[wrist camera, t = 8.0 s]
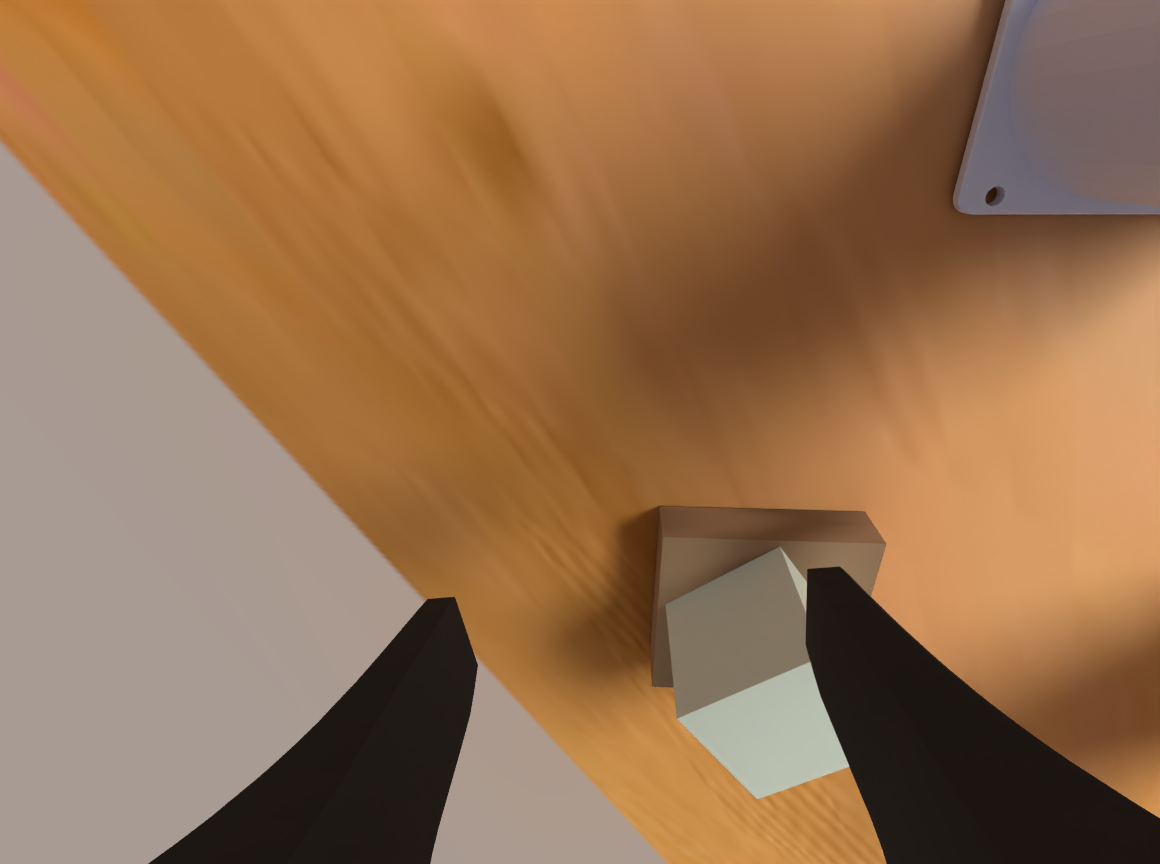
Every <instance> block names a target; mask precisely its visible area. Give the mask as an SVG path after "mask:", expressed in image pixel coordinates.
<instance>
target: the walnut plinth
mask: <svg viewBox="0 0 1160 864" xmlns="http://www.w3.org/2000/svg"><path fill="white" fill-rule="evenodd" d="M778 547H781V549H782V550H783V551H784V553H785V554H786V555H787V556H788V558H789V559H790V560H791V562H792V563H793V564H794V566H795V567H796V568H797V570H798V571H799V572H800V574H801V575H802V576H803V578H804V579H805V580H806V582H807V569H813V568H825V567H838V566H840V567H841V568H842V569H844V570H845V571H846V572H847V573H848V574H849V575H850V576H851V577H852V578H853V579H854V580H855V581H856V582H857V583H858V584H859V585H860V586H861V587H862V588H863V589H864V590H865V591H866V592H867V593H868V594H869V595H870V596H871V594H872V591H873V587H874V584H875V581H876V577H877V574H878V570H879V567H880V564H881V560H882V557H883V553H884V550H885V547H886V543H885V541H884V540H883V538H882V537H881V535H880V534H879V532H878V531H877V529H876V527H875V526H874V524H873V523H872V521H871V520H870V518H869V517H868V515H867V514H866V512H858V511H821V510H784V509H747V508H710V507H673V506H659V520H658V535H657V551H656V566H655V581H654V596H653V611H652V627H651V642H650V658H651V675H652V686H655V687H674V684H673V674H672V664H671V654H670V644H669V634H668V624H667V614H666V604H668V603H670V602H671V601H673V600H675V599H677V598H679V597H681V596H683V595H685V594H687V593H689V592H691V591H693V590H695V589H697V588H699V587H701V586H703V585H705V584H707V583H709V582H711V581H713V580H715V579H717V578H719V577H721V576H723V575H725V574H727V573H729V572H731V571H733V570H735V569H737V568H739V567H740V566H742V565H744V564H746V563H748V562H750V561H752V560H754V559H756V558H758V557H760V556H762V555H764V554H766V553H768V552H770V551H772V550H774V549H776V548H778Z"/></svg>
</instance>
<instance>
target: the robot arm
mask: <svg viewBox="0 0 1160 864" xmlns="http://www.w3.org/2000/svg"><path fill="white" fill-rule="evenodd" d="M993 187H995V188H996V189H997V196H996V197H995V199H994V200H993V201H992V202H991V203H990V204H987V203H986V202H985V198H986V195H987V193H988V191H989V190H991V189H992V188H993ZM953 205H954V207H955V209H956V210H958V211H959V212H962V213H966V214H971V215H987V214H1160V0H1005V4H1004V7H1003V11H1002V15H1001V19H1000V22H999V26H998V30H997V34H996V37H995V41H994V45H993V49H992V52H991V56H990V60H989V63H988V67H987V71H986V75H985V78H984V82H983V86H982V90H981V93H980V97H979V101H978V105H977V108H976V112H975V116H974V120H973V123H972V127H971V131H970V134H969V138H968V142H967V146H966V149H965V153H964V157H963V161H962V164H961V168H960V172H959V176H958V179H957V183H956V187H955V191H954V194H953ZM805 645H806V648H807V652H808V655H809V659H810V662H811V666H812V669H813V673H814V676H815V680H816V683H817V686H818V690H819V693H820V696H821V699H822V701H823V704H824V706H825V709H826V711H827V713H828V716H829V718H830V721H831V723H832V726H833V728H834V730H835V733H836V735H837V738H838V740H839V743H840V745H841V747H842V750H843V752H844V755H845V757H846V759H847V762H848V764H849V767H850V769H851V771H852V774H853V776H854V779H855V781H856V783H857V786H858V788H859V791H860V793H861V795H862V798H863V800H864V803H865V805H866V807H867V810H868V812H869V815H870V817H871V820H872V822H873V825H874V828H875V830H876V833H877V836H878V838H879V841H880V844H881V847H882V850H883V853H884V856H885V859H886V862H887V864H1160V818H1158V817H1157V816H1155V815H1153V814H1152V813H1150V812H1149V811H1147V810H1145V809H1144V808H1142V807H1140V806H1139V805H1137V804H1136V803H1134V802H1132V801H1131V800H1129V799H1128V798H1126V797H1125V796H1123V795H1122V794H1120V793H1118V792H1117V791H1115V790H1114V789H1112V788H1111V787H1109V786H1108V785H1106V784H1105V783H1103V782H1101V781H1100V780H1098V779H1097V778H1095V777H1094V776H1092V775H1091V774H1089V773H1087V772H1086V771H1084V770H1083V769H1081V768H1080V767H1078V766H1077V765H1075V764H1074V763H1072V762H1070V761H1069V760H1067V759H1066V758H1065V757H1063V756H1062V755H1060V754H1059V753H1057V752H1056V751H1054V750H1053V749H1052V748H1050V747H1049V746H1047V745H1046V744H1044V743H1043V742H1042V741H1040V740H1039V739H1037V738H1036V737H1035V736H1033V735H1032V734H1031V733H1029V732H1028V731H1026V730H1025V729H1024V728H1022V727H1021V726H1020V725H1018V724H1017V723H1016V722H1014V721H1013V720H1012V719H1010V718H1009V717H1008V716H1006V715H1005V714H1004V713H1002V712H1001V711H1000V710H998V709H997V708H996V707H995V706H993V705H992V704H991V703H989V702H988V701H987V700H986V699H984V698H983V697H982V696H981V695H979V694H978V693H977V692H976V691H974V690H973V689H972V688H971V687H970V686H968V685H967V684H966V683H965V682H964V681H962V680H961V679H960V678H959V677H958V676H956V675H955V674H954V673H953V672H952V671H950V670H949V669H948V668H947V667H946V666H945V665H943V664H942V663H941V662H940V661H939V660H938V659H937V658H935V657H934V656H933V655H932V654H931V653H930V652H929V651H928V650H927V649H925V648H924V647H923V646H922V645H921V644H920V643H919V642H918V641H917V640H916V639H914V638H913V637H912V636H911V635H910V634H909V633H908V632H907V631H906V630H905V629H904V628H902V627H901V626H900V625H899V624H898V623H897V622H896V621H895V620H894V619H893V618H892V617H891V616H890V615H889V614H888V613H887V612H886V611H885V610H884V609H883V608H882V607H881V606H880V605H879V604H878V603H877V602H876V601H875V600H874V599H873V598H872V597H871V596H870V595H869V594H868V593H867V592H866V591H865V590H864V589H863V588H862V587H861V586H860V585H859V584H858V583H857V582H856V581H855V580H854V579H853V578H852V577H851V576H850V575H849V574H848V573H847V572H846V571H845V570H844V569H842V568H841V567H840V566H838V567H825V568H813V569H807V600H806V642H805ZM477 667H478V664H477V661H476V658H475V655H474V652H473V650H472V647H471V644H470V641H469V638H468V635H467V632H466V629H465V626H464V623H463V620H462V617H461V614H460V611H459V608H458V605H457V602H456V599H455V597H448V598H436V599H427V600H426V602H425V603H424V604H423V605H422V606H421V607H420V608H419V610H418V611H417V612H416V613H415V614H414V616H413V617H412V618H411V619H410V620H409V621H408V622H407V624H406V625H405V626H404V627H403V628H402V630H401V631H400V632H399V633H398V634H397V636H396V637H395V638H394V639H393V640H392V641H391V642H390V644H389V645H388V646H387V647H386V648H385V650H384V651H383V652H382V653H381V654H380V656H378V658H377V659H376V660H375V661H374V662H373V663H372V665H371V666H370V667H369V668H368V669H367V670H366V671H365V673H364V674H363V675H362V676H361V677H360V678H359V679H358V680H357V682H356V683H355V684H354V685H353V686H352V687H351V688H350V689H349V690H348V691H347V692H346V693H345V694H344V695H343V696H342V697H341V699H340V700H339V701H338V702H337V703H336V704H335V705H334V706H333V707H332V708H331V709H330V710H329V711H328V712H327V713H326V715H324V716H323V718H322V719H321V720H320V721H319V722H318V723H317V724H316V725H315V726H314V727H313V728H312V729H311V730H310V731H309V732H308V733H307V734H306V735H305V736H303V737H302V738H301V739H300V740H299V741H298V742H297V743H296V744H295V745H294V746H293V747H292V748H291V749H290V750H289V751H288V752H287V753H285V754H284V755H283V756H282V757H281V758H280V759H279V760H278V761H277V762H276V763H274V764H273V765H272V766H271V767H270V768H269V769H268V770H267V771H266V772H264V773H263V774H262V775H261V776H260V777H259V778H257V779H256V780H255V781H254V782H253V783H251V784H250V785H249V786H248V787H246V788H245V789H244V790H243V791H242V792H240V793H239V794H238V795H237V796H236V797H235V798H233V799H232V800H231V801H230V802H228V803H227V804H226V805H225V806H224V807H222V808H221V809H220V810H219V811H217V812H216V813H215V814H214V815H213V816H212V817H210V818H209V819H208V820H206V821H205V822H204V823H203V824H201V825H200V826H199V827H197V828H196V829H195V830H193V831H192V832H191V833H189V834H188V835H187V836H185V837H184V838H183V839H181V840H180V841H179V842H178V843H176V844H175V845H173V846H172V847H171V848H169V849H168V850H167V851H165V852H164V853H162V854H161V855H160V856H158V857H157V858H156V859H154V860H153V861H151V862H150V863H149V864H430V862H431V857H432V852H433V848H434V844H435V840H436V835H437V832H438V827H439V824H440V821H441V817H442V813H443V810H444V806H445V803H446V799H447V796H448V792H449V789H450V785H451V782H452V778H453V775H454V771H455V768H456V764H457V761H458V757H459V753H460V750H461V746H462V743H463V739H464V735H465V732H466V728H467V724H468V721H469V717H470V712H471V706H472V701H473V695H474V688H475V681H476V674H477Z"/></svg>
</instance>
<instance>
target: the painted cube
mask: <svg viewBox="0 0 1160 864" xmlns="http://www.w3.org/2000/svg"><path fill="white" fill-rule="evenodd" d="M806 600H807V582H806V580H805V579H804V578H803V576H802V575H801V574H800V572H799V571H798V570H797V568H796V567H795V566H794V564H793V563H792V562H791V560H790V559H789V558H788V556H787V555H786V554H785V553H784V551H783V550H782V549H781V547H778V548H776V549H774V550H772V551H770V552H768V553H766V554H764V555H762V556H760V557H758V558H756V559H754V560H752V561H750V562H748V563H746V564H744V565H742V566H740V567H739V568H737V569H735V570H733V571H731V572H729V573H727V574H725V575H723V576H721V577H719V578H717V579H715V580H713V581H711V582H709V583H707V584H705V585H703V586H701V587H699V588H697V589H695V590H693V591H691V592H689V593H687V594H685V595H683V596H681V597H679V598H677V599H675V600H673V601H671V602H670V603H668V604H666V614H667V624H668V634H669V644H670V654H671V664H672V674H673V684H674V694H675V704H676V714H677V719H678V720H679V721H680V722H681V723H682V724H683V725H684V726H685V727H686V728H687V729H688V730H689V731H690V732H691V733H692V734H693V735H694V736H695V737H696V738H697V739H698V740H699V741H700V742H701V743H702V744H703V745H704V746H705V747H706V748H707V749H708V750H709V751H710V752H711V753H712V754H713V755H714V756H715V757H716V758H717V759H718V760H719V761H720V762H721V763H722V764H723V765H724V766H725V767H726V768H727V769H728V770H729V771H730V772H731V773H732V774H733V775H734V776H735V777H736V778H737V779H738V781H739V782H740V783H741V784H742V785H743V786H744V787H745V788H746V789H747V790H748V791H749V792H750V793H751V794H752V795H753V796H754V797H755V798H756V799H759V798H762V797H765V796H768V795H771V794H773V793H776V792H779V791H782V790H785V789H788V788H790V787H793V786H796V785H799V784H802V783H804V782H807V781H810V780H813V779H816V778H818V777H821V776H824V775H827V774H830V773H833V772H835V771H838V770H841V769H844V768H847V767H849V764H848V762H847V759H846V757H845V755H844V752H843V750H842V747H841V745H840V743H839V740H838V738H837V735H836V733H835V730H834V728H833V726H832V723H831V721H830V718H829V716H828V713H827V711H826V709H825V706H824V704H823V701H822V699H821V696H820V693H819V690H818V686H817V683H816V680H815V676H814V673H813V669H812V666H811V662H810V659H809V655H808V652H807V648H806V645H805V642H806Z"/></svg>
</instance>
